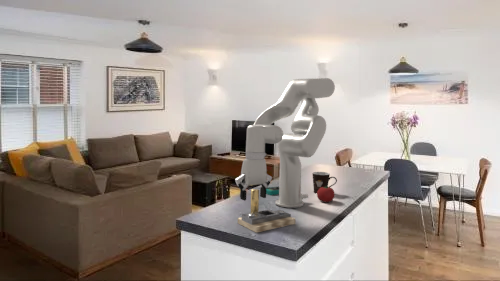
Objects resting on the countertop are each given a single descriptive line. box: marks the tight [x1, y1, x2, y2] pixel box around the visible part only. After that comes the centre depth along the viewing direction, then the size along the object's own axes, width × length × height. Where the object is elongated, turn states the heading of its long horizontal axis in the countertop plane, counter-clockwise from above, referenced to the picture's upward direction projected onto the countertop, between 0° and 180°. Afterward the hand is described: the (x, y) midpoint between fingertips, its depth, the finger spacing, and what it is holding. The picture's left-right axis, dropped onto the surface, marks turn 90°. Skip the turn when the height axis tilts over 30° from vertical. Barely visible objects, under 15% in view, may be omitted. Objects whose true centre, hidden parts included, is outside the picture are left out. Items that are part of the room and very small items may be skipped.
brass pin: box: [250, 188, 260, 213], centre depth 151 cm, size 3×3×10 cm
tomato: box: [316, 186, 336, 203], centre depth 173 cm, size 8×8×7 cm
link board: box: [237, 216, 296, 233], centre depth 140 cm, size 18×12×2 cm, turn 125°
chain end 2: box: [263, 209, 292, 222], centre depth 141 cm, size 13×7×2 cm, turn 125°
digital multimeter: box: [266, 186, 279, 196], centre depth 189 cm, size 7×15×3 cm, turn 120°
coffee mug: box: [312, 171, 338, 194], centre depth 188 cm, size 12×9×10 cm
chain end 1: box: [241, 209, 280, 225], centre depth 138 cm, size 13×7×3 cm, turn 125°
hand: (253, 198), depth 150 cm, fingers open, 9 cm apart
